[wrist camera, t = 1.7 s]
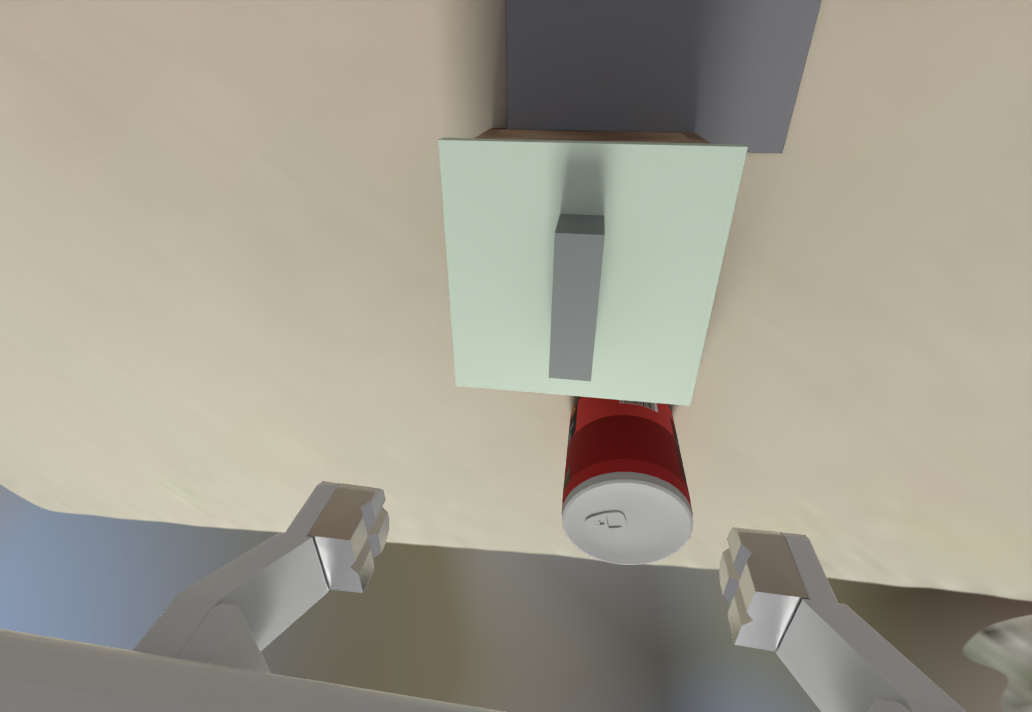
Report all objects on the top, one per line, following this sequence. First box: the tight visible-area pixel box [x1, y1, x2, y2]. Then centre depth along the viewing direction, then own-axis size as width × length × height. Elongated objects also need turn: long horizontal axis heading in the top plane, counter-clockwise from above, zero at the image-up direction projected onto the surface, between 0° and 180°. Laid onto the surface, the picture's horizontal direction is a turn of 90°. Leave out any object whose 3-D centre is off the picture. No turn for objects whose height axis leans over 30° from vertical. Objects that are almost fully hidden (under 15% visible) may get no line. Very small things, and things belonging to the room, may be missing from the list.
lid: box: [438, 138, 748, 406], centre depth 24 cm, size 13×13×5 cm
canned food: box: [562, 397, 693, 565], centre depth 35 cm, size 8×8×11 cm
